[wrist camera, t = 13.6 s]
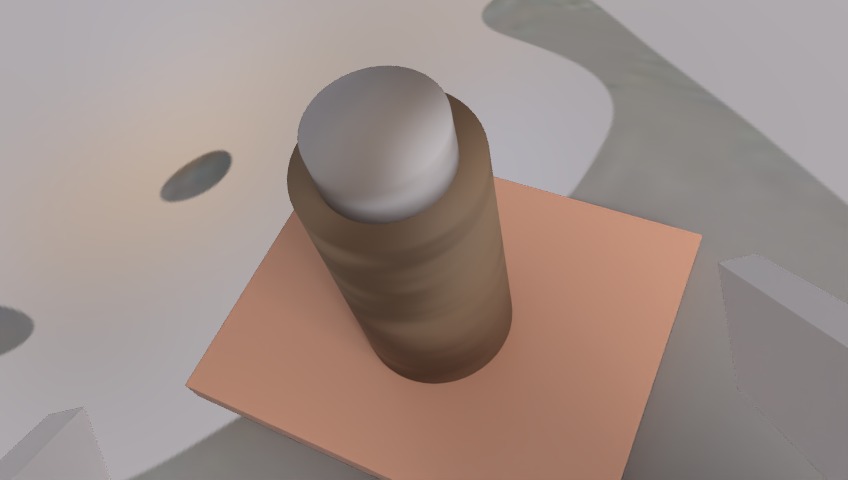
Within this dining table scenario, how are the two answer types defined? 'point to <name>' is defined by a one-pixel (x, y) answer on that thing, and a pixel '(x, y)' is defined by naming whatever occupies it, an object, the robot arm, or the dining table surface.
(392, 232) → the pepper mill
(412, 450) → the plate
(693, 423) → the dining table surface
